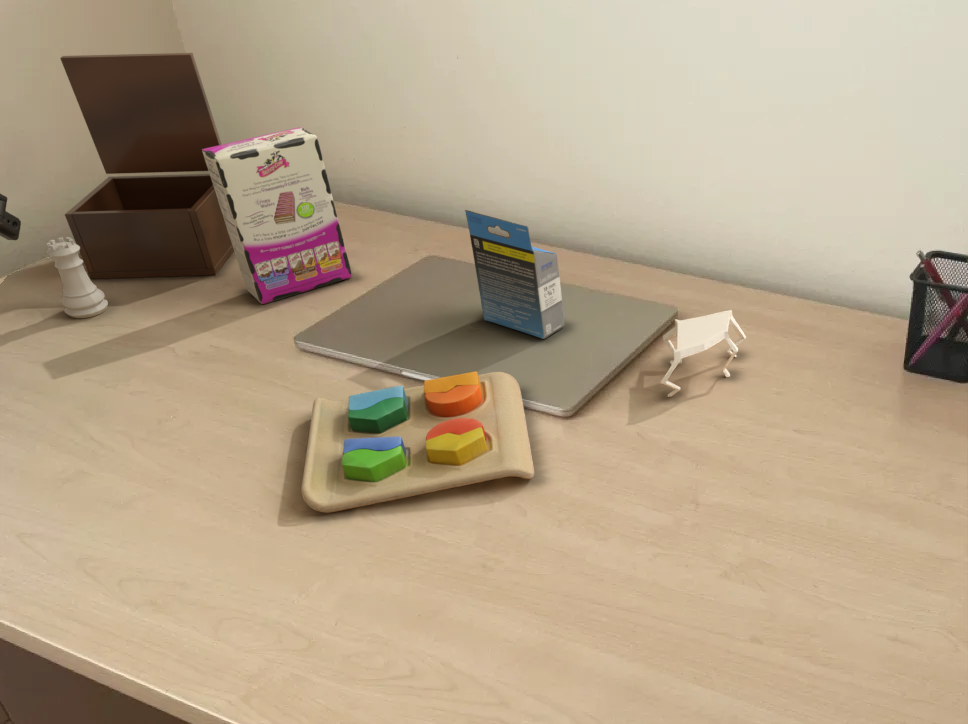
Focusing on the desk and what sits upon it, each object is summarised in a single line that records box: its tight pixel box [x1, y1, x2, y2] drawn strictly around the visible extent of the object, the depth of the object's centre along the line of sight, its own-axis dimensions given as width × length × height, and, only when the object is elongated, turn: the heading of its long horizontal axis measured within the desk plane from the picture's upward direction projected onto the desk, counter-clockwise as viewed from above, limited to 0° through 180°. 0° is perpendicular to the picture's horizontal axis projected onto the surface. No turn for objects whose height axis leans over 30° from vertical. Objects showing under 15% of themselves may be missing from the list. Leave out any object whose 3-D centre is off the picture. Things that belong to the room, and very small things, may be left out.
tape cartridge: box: [464, 209, 565, 340], centre depth 110 cm, size 9×4×12 cm, turn 57°
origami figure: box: [660, 309, 747, 398], centre depth 103 cm, size 12×8×5 cm
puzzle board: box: [300, 371, 535, 513], centre depth 94 cm, size 18×19×4 cm
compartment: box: [64, 173, 235, 280], centre depth 127 cm, size 13×15×8 cm
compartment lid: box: [60, 52, 223, 175], centre depth 127 cm, size 14×15×5 cm
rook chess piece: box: [46, 236, 109, 319], centre depth 115 cm, size 4×4×8 cm
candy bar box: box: [202, 126, 353, 305], centre depth 118 cm, size 11×5×16 cm, turn 130°
